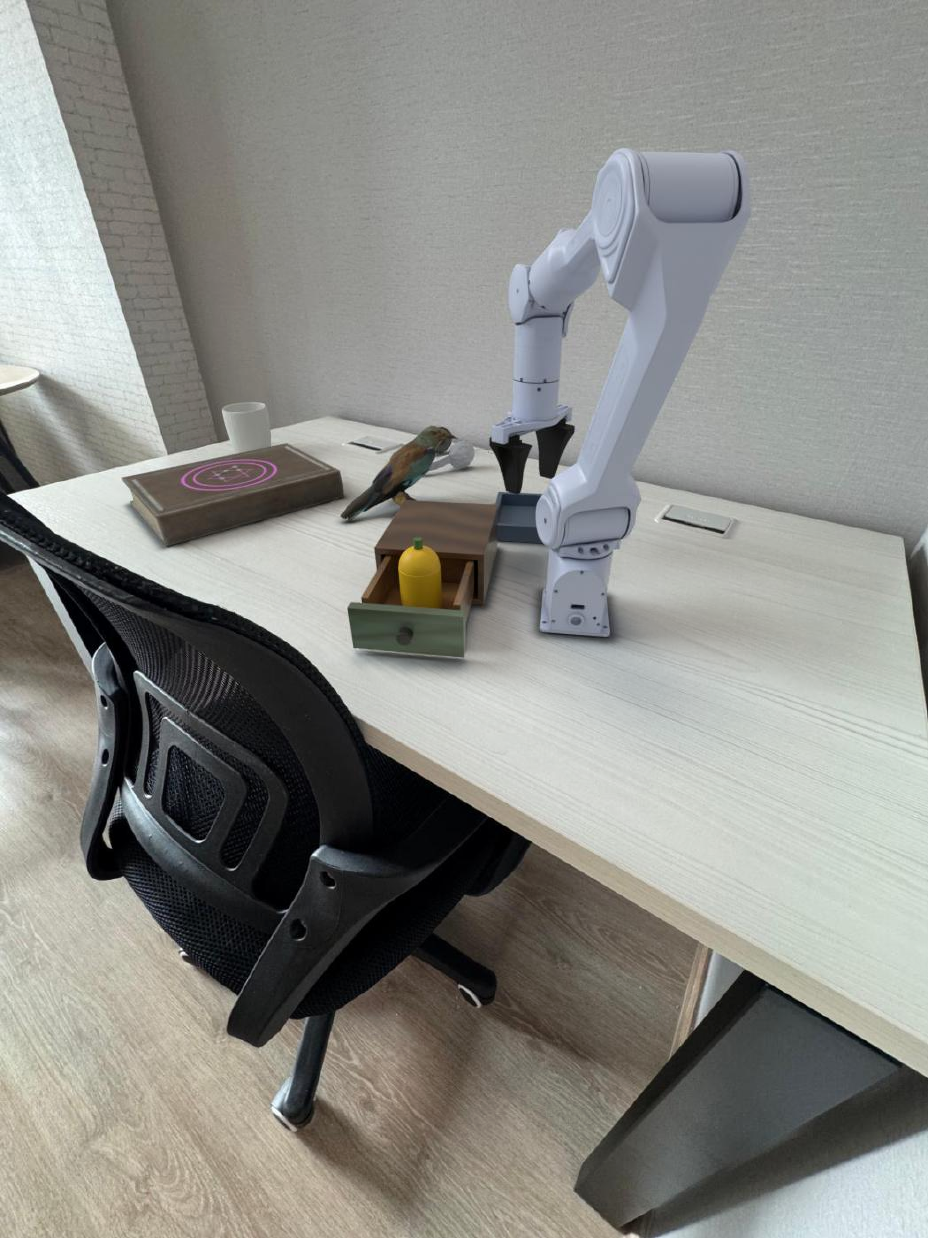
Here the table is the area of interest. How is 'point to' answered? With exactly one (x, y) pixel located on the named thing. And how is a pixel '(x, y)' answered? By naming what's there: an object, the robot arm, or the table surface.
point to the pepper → (420, 577)
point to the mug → (247, 426)
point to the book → (231, 491)
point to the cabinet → (446, 535)
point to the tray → (517, 517)
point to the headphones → (452, 453)
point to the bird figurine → (400, 472)
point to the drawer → (414, 612)
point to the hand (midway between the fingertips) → (530, 484)
